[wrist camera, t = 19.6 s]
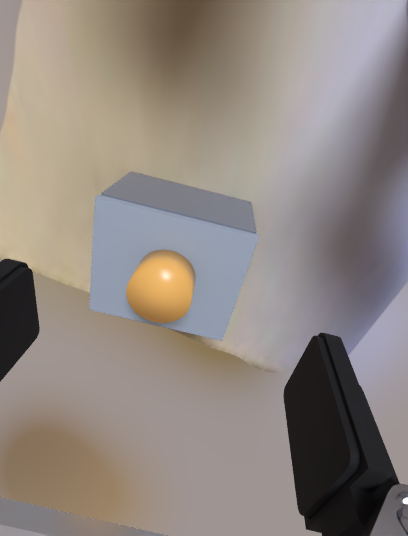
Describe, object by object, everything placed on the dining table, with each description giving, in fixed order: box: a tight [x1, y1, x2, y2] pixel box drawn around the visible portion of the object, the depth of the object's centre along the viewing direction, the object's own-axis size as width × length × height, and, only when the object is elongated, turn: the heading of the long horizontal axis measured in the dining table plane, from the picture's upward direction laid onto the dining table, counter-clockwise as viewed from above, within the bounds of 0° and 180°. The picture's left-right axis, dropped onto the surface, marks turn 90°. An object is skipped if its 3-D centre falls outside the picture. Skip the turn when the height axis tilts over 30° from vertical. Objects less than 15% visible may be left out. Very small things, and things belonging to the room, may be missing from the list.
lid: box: [89, 195, 258, 341], centre depth 33 cm, size 16×14×1 cm
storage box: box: [101, 172, 256, 234], centre depth 38 cm, size 16×14×10 cm
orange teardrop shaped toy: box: [126, 250, 196, 323], centre depth 31 cm, size 6×6×4 cm
